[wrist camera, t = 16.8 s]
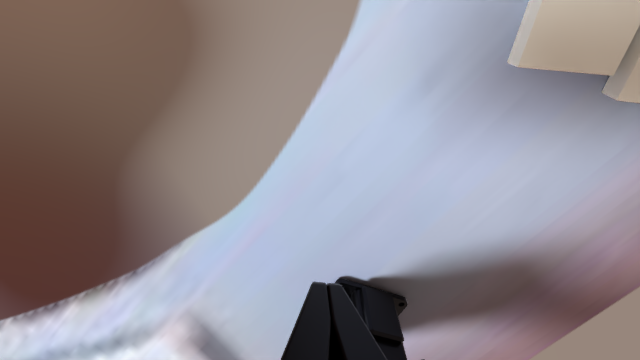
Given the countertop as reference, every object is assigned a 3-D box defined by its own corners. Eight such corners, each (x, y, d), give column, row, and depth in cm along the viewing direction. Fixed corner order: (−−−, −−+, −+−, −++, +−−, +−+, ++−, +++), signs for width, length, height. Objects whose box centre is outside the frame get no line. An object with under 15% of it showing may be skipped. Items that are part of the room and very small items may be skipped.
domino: (535, -35, 17) (636, -24, 17) (502, 61, 19) (592, 68, 20) (555, -36, 16) (664, -23, 16) (517, 67, 18) (613, 75, 18)
